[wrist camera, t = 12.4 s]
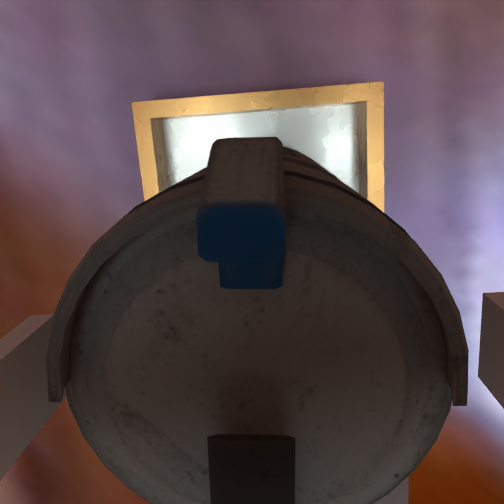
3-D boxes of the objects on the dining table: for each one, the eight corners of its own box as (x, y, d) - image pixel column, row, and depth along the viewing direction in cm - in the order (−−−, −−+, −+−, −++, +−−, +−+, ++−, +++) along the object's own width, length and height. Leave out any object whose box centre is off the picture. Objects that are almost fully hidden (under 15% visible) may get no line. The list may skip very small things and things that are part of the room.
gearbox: (149, 106, 32) (78, 90, 20) (369, 88, 31) (427, 61, 19) (192, 453, 39) (158, 590, 27) (373, 447, 38) (417, 586, 26)
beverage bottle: (199, 318, 34) (23, 765, 10) (190, 134, 31) (-108, 147, 7) (336, 318, 34) (497, 787, 10) (342, 131, 30) (610, 134, 6)
